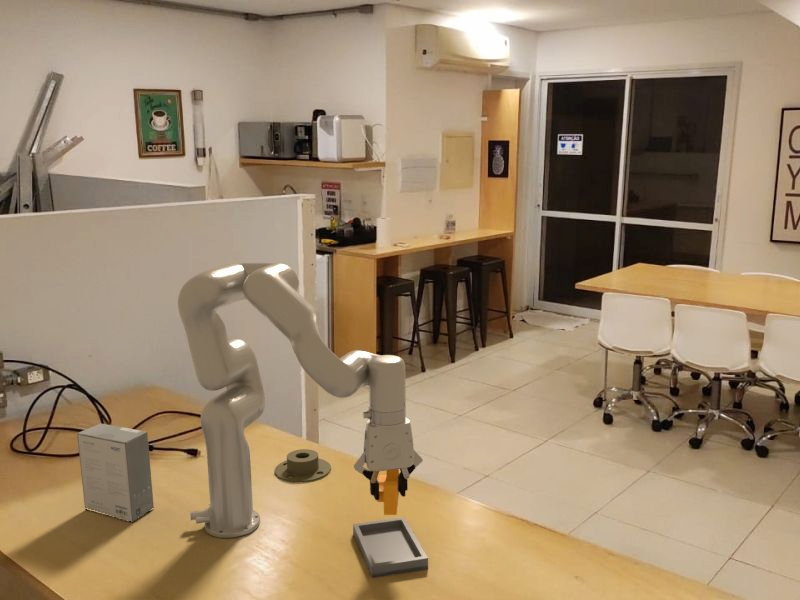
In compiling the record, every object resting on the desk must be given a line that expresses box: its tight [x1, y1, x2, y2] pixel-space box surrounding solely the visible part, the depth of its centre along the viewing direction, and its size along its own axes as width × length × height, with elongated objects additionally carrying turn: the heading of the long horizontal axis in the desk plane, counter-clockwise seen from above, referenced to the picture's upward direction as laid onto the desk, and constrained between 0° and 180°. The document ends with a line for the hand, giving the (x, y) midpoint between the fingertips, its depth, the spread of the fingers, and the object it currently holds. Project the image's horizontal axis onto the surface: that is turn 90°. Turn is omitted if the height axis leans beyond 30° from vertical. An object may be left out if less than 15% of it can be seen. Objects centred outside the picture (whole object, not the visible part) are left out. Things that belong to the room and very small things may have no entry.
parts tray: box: [352, 516, 429, 579], centre depth 162 cm, size 12×18×2 cm, turn 15°
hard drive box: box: [76, 423, 155, 523], centre depth 179 cm, size 16×8×20 cm, turn 65°
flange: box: [274, 448, 332, 483], centre depth 202 cm, size 5×15×15 cm
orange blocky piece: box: [376, 469, 400, 516], centre depth 159 cm, size 12×4×6 cm, turn 177°
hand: (388, 494), depth 160 cm, fingers closed on orange blocky piece, 5 cm apart
